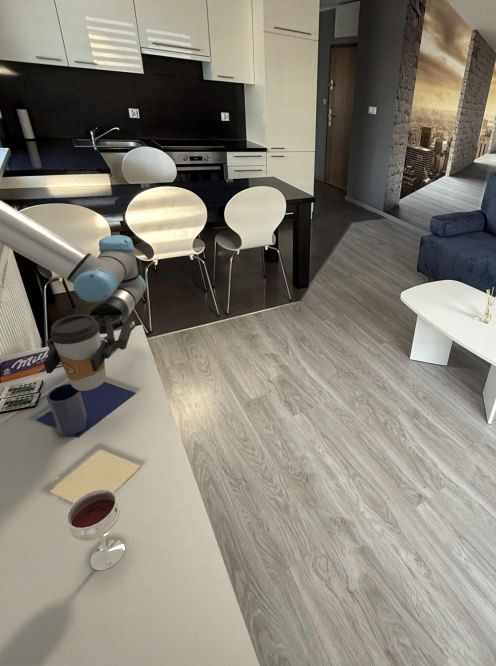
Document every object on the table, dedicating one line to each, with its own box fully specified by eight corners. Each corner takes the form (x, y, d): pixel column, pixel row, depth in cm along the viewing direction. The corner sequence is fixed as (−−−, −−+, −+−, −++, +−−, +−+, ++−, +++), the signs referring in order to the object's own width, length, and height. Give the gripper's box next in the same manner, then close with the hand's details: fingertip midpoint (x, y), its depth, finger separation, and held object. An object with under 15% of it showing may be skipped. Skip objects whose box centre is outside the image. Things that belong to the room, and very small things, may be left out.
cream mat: (49, 492, 76) (49, 491, 76) (100, 449, 85) (100, 449, 85) (93, 513, 73) (93, 512, 73) (141, 466, 82) (140, 466, 82)
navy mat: (35, 420, 91) (35, 420, 91) (98, 379, 105) (97, 379, 105) (78, 438, 87) (78, 437, 87) (136, 393, 101) (136, 392, 101)
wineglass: (80, 583, 63) (62, 536, 57) (86, 543, 68) (69, 497, 63) (129, 565, 66) (115, 519, 60) (131, 528, 71) (118, 483, 66)
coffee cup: (56, 388, 84) (37, 328, 77) (91, 366, 91) (76, 309, 85) (87, 399, 82) (69, 338, 75) (120, 375, 89) (107, 318, 82)
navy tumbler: (52, 431, 88) (39, 397, 84) (77, 413, 93) (66, 380, 89) (72, 440, 87) (60, 405, 82) (96, 421, 92) (87, 387, 87)
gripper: (159, 322, 102) (130, 379, 82) (70, 324, 98) (17, 384, 78) (154, 296, 99) (123, 349, 79) (63, 297, 95) (5, 353, 75)
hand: (70, 366), depth 79 cm, fingers closed on coffee cup, 8 cm apart
